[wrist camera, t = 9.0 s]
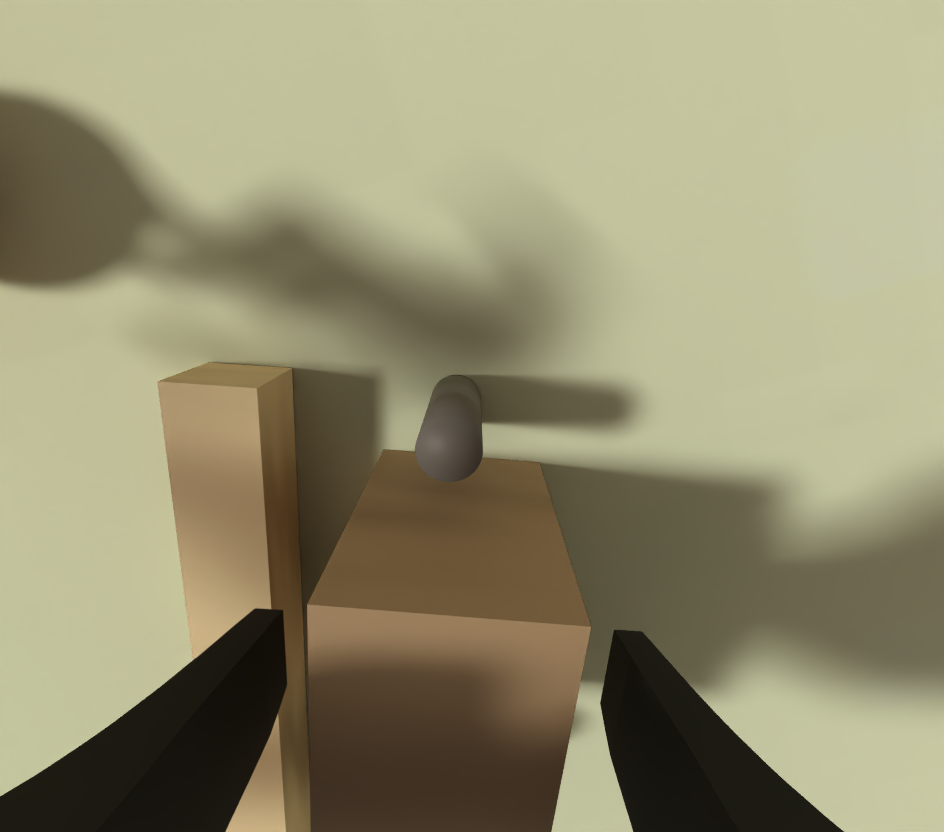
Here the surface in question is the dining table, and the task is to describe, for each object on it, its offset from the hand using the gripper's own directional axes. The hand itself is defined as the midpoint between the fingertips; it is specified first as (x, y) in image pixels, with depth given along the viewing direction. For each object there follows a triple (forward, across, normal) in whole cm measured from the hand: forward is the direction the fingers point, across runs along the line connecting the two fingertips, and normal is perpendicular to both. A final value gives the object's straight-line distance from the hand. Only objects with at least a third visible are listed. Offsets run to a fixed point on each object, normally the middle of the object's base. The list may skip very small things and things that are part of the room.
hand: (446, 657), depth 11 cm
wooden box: (+3, 0, 0) cm, 3 cm away
